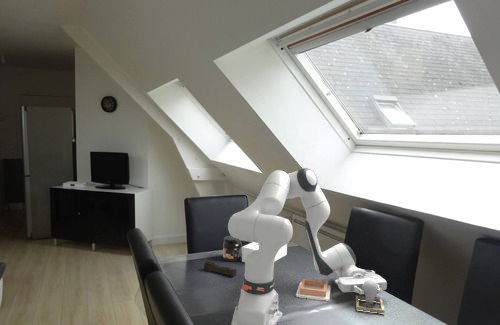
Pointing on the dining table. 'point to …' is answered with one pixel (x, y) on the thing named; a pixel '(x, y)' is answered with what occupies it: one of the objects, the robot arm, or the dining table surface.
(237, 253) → the supplement container
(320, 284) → the socket
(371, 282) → the lightbulb
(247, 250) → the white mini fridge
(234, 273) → the hand tool
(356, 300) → the square wooden frame
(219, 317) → the dining table surface
